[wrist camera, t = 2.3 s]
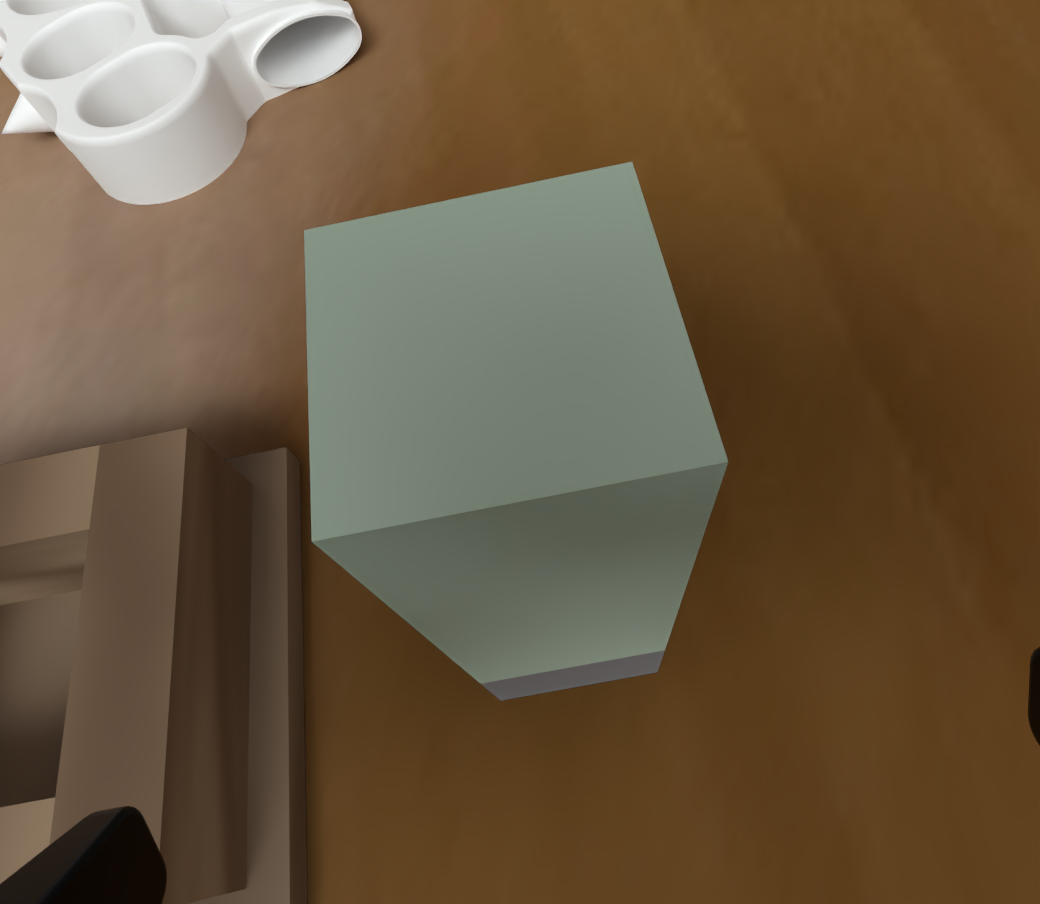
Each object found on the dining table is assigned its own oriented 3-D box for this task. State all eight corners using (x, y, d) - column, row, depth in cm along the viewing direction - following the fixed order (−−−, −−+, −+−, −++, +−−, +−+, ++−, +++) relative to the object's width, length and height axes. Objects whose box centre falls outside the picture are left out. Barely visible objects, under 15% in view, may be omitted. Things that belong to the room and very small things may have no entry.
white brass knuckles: (400, 110, 29) (53, 263, 27) (273, -92, 37) (-1, 19, 35) (375, 29, 26) (-17, 196, 24) (242, -171, 34) (-59, -54, 32)
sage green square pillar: (622, 523, 20) (632, 161, 8) (657, 672, 18) (728, 461, 7) (479, 551, 20) (304, 230, 9) (500, 700, 18) (311, 541, 7)
